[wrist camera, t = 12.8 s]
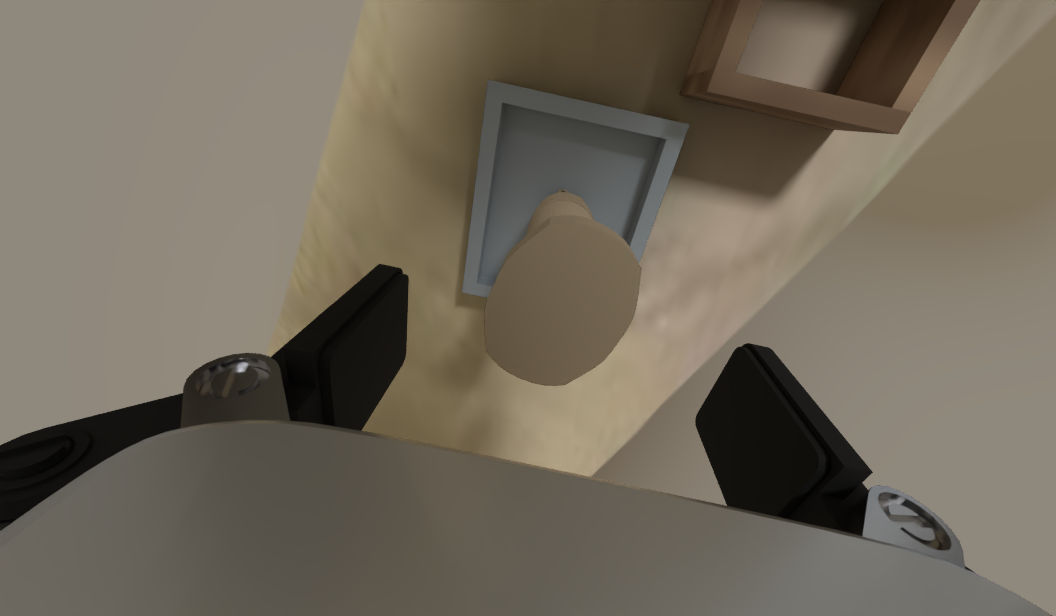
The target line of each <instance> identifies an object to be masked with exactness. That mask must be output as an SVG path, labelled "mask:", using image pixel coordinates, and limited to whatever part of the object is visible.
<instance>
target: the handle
mask: <svg viewBox="0 0 1056 616" xmlns="http://www.w3.org/2000/svg"><path fill="white" fill-rule="evenodd" d="M640 276H641V267H640V265H639V263H638V261H637V259H636V257H635V255H634V253H633V251H632V249H631V248H630V247H629V245H628V244H627V243H626V241H625V240H624V239H623V238H622V237H621V236H619V235H618V234H617V233H616V232H615V231H613V230H612V229H610V228H608V227H607V226H605V225H603V224H602V223H599V222H597V221H594V218H593V216H592V213H591V211H590V209H589V208H588V206H587V205H586V203H585V202H584V200H583V199H582V198H581V197H580V196H576V195H575V194H572V193H569V192H567V190H566V189H559V190H558V192H557V193H554V194H551V195H549V196H548V197H546V198H545V199H543V200H542V201H541V203H540V204H539V205H538V207H537V208H536V210H535V212H534V214H533V215H532V218H531V220H530V223H529V226H528V229H527V236H526V237H525V238H523V239H522V240H521V241H520V242H519V243H518V244H517V245H516V246H515V247H514V248H512V249H511V250H510V251H509V253H508V255H507V256H506V258H505V261H504V263H503V265H502V267H501V269H500V272H499V274H498V276H497V278H496V280H495V283H494V285H493V287H492V289H491V292H490V294H489V296H488V299H487V302H486V306H485V312H484V328H485V340H486V350H487V353H488V354H489V356H490V357H491V358H492V359H493V360H494V361H495V362H496V364H497V365H498V366H500V367H501V368H503V369H504V370H505V371H507V372H508V373H510V374H512V375H514V376H516V377H518V378H520V379H523V380H526V381H529V382H531V383H535V384H540V385H547V386H559V385H566V384H567V383H569V382H571V381H573V380H575V379H576V378H578V377H580V376H582V375H583V374H585V373H587V372H588V371H590V370H592V369H593V368H595V367H596V366H597V365H599V364H600V363H601V362H603V361H604V360H605V359H606V358H607V356H608V355H609V354H610V353H611V352H612V350H613V349H614V348H615V346H616V345H617V343H618V342H619V340H620V339H621V338H622V336H623V335H624V333H625V332H626V331H627V329H628V327H629V325H630V323H631V321H632V320H633V317H634V313H635V310H636V306H637V300H638V293H639V285H640Z"/></svg>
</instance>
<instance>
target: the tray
mask: <svg viewBox="0 0 1056 616" xmlns="http://www.w3.org/2000/svg"><path fill="white" fill-rule="evenodd" d="M689 125H690V124H685V123H681V122H676V121H672V120H667V119H663V118H658V117H654V116H649V115H645V114H640V113H636V112H632V111H627V110H623V109H618V108H614V107H609V106H605V105H600V104H596V103H591V102H587V101H582V100H578V99H573V98H569V97H564V96H560V95H555V94H551V93H546V92H542V91H537V90H533V89H528V88H524V87H519V86H515V85H510V84H506V83H501V82H497V81H492V80H488V83H487V91H486V99H485V107H484V116H483V124H482V132H481V140H480V149H479V157H478V165H477V173H476V182H475V190H474V198H473V206H472V215H471V223H470V231H469V239H468V248H467V256H466V264H465V272H464V281H463V289H462V293H467V294H471V295H476V296H481V297H485V298H488V296H489V294H490V292H491V289H492V287H493V285H494V283H495V280H496V278H497V276H498V274H499V272H500V269H501V267H502V265H503V263H504V261H505V258H506V256H507V255H508V253H509V251H510V250H511V249H512V248H514V247H515V246H516V245H517V244H518V243H519V242H520V241H521V240H522V239H523V238H525V237H526V236H527V229H528V226H529V223H530V220H531V218H532V215H533V214H534V212H535V210H536V208H537V207H538V205H539V204H540V203H541V201H542V200H543V199H545V198H546V197H548V196H549V195H551V194H554V193H557V192H558V190H559V189H566V190H567V192H569V193H572V194H575V195H576V196H580V197H581V198H582V199H583V200H584V202H585V203H586V205H587V206H588V208H589V209H590V211H591V213H592V216H593V218H594V221H597V222H599V223H602V224H603V225H605V226H607V227H608V228H610V229H612V230H613V231H615V232H616V233H617V234H618V235H619V236H621V237H622V238H623V239H624V240H625V241H626V243H627V244H628V245H629V247H630V248H631V249H632V251H633V253H634V255H635V257H636V259H637V261H638V263H639V262H640V260H641V257H642V254H643V251H644V249H645V246H646V243H647V240H648V238H649V235H650V232H651V229H652V227H653V224H654V221H655V218H656V216H657V213H658V210H659V207H660V205H661V202H662V199H663V196H664V194H665V191H666V188H667V185H668V183H669V180H670V177H671V174H672V172H673V169H674V166H675V164H676V161H677V158H678V155H679V153H680V150H681V147H682V144H683V142H684V139H685V136H686V133H687V131H688V128H689Z"/></svg>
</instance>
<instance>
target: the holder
mask: <svg viewBox="0 0 1056 616" xmlns="http://www.w3.org/2000/svg"><path fill="white" fill-rule="evenodd" d="M979 2H980V0H884V2H883V4H882V6H881V8H880V10H879V12H878V14H877V16H876V18H875V20H874V22H873V23H872V25H871V27H870V29H869V31H868V33H867V35H866V37H865V39H864V41H863V43H862V45H861V47H860V49H859V51H858V52H857V54H856V56H855V58H854V60H853V62H852V64H851V66H850V68H849V70H848V72H847V74H846V76H845V78H844V80H843V81H842V83H841V85H840V87H839V89H838V91H837V93H836V95H832V94H827V93H823V92H819V91H814V90H810V89H805V88H801V87H796V86H792V85H788V84H783V83H779V82H774V81H770V80H765V79H761V78H757V77H752V76H748V75H743V74H739V73H735V71H736V69H737V66H738V64H739V61H740V59H741V56H742V54H743V51H744V49H745V46H746V43H747V41H748V38H749V36H750V33H751V31H752V28H753V26H754V23H755V21H756V18H757V15H758V13H759V10H760V8H761V5H762V3H763V0H712V1H711V4H710V7H709V10H708V13H707V16H706V19H705V22H704V25H703V28H702V31H701V34H700V37H699V39H698V42H697V45H696V48H695V51H694V54H693V57H692V60H691V63H690V66H689V69H688V72H687V75H686V78H685V81H684V84H683V86H682V89H681V92H680V95H682V96H686V97H691V98H695V99H699V100H704V101H708V102H713V103H717V104H722V105H726V106H731V107H735V108H740V109H744V110H749V111H753V112H757V113H762V114H766V115H771V116H775V117H780V118H784V119H789V120H793V121H798V122H802V123H807V124H811V125H815V126H820V127H824V128H829V129H833V130H844V131H858V132H873V133H887V134H898V133H899V132H900V130H901V128H902V127H903V125H904V123H905V122H906V120H907V119H908V117H909V115H910V114H911V112H912V110H913V109H914V107H915V106H916V104H917V102H918V101H919V99H920V97H921V96H922V94H923V93H924V91H925V89H926V88H927V86H928V84H929V83H930V81H931V80H932V78H933V76H934V75H935V73H936V71H937V70H938V68H939V67H940V65H941V63H942V62H943V60H944V58H945V57H946V55H947V54H948V52H949V50H950V49H951V47H952V45H953V44H954V42H955V41H956V39H957V37H958V36H959V34H960V32H961V31H962V29H963V28H964V26H965V24H966V23H967V21H968V19H969V18H970V16H971V15H972V13H973V11H974V10H975V8H976V6H977V5H978V3H979Z"/></svg>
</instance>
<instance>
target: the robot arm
mask: <svg viewBox="0 0 1056 616" xmlns="http://www.w3.org/2000/svg"><path fill="white" fill-rule="evenodd" d="M408 283H409V279H408V276H407V275H405V274H403V272H402V269H401V268H397V267H392V266H387V265H383V264H379V265H377V266H376V267H375V268H374V269H373V270H372V271H370V272H369V273H368V274H367V275H366V276H365V277H364V278H362V279H361V280H360V281H359V282H358V283H357V284H355V285H354V286H353V287H352V288H351V289H350V290H349V291H347V292H346V293H345V294H344V295H343V296H342V297H340V298H339V299H338V300H337V301H336V302H335V303H334V304H332V305H331V306H329V307H328V308H327V309H326V310H325V311H324V312H323V313H321V314H320V315H319V316H318V317H317V318H316V319H314V320H313V321H312V322H311V323H310V324H309V325H307V326H306V327H305V328H304V329H303V330H302V331H301V332H299V333H298V334H297V335H296V336H295V337H294V338H292V339H291V340H290V341H289V342H288V343H287V344H285V345H284V346H283V347H282V348H281V349H280V350H279V351H277V352H276V353H275V354H274V355H273V356H272V357H269V356H266V355H262V354H256V353H242V354H232V355H229V356H225V357H221V358H218V359H215V360H213V361H210V362H208V363H206V364H204V365H203V366H201V367H199V368H198V369H196V370H195V371H194V372H193V373H192V374H191V375H190V376H189V377H188V378H187V379H186V382H185V385H184V389H183V393H182V394H178V395H174V396H170V397H166V398H163V399H158V400H154V401H150V402H146V403H143V404H138V405H135V406H130V407H126V408H122V409H119V410H115V411H111V412H107V413H103V414H99V415H95V416H91V417H87V418H83V419H79V420H75V421H71V422H67V423H64V424H59V425H55V426H51V427H47V428H44V429H41V430H38V431H34V432H31V433H28V434H25V435H22V436H20V437H18V438H16V439H13V440H11V441H9V442H7V443H4V444H2V445H0V616H1052V615H1050V614H1049V613H1047V612H1046V611H1044V610H1042V609H1041V608H1039V607H1038V606H1036V605H1034V604H1033V603H1031V602H1029V601H1028V600H1026V599H1024V598H1022V597H1021V596H1019V595H1017V594H1016V593H1014V592H1011V591H1010V590H1008V589H1006V588H1004V587H1002V586H1000V585H998V584H996V583H994V582H992V581H990V580H988V579H986V578H984V577H982V576H980V575H978V574H976V573H975V572H973V571H972V570H970V569H969V568H967V567H966V566H965V564H964V556H963V550H962V547H961V544H960V542H959V540H958V538H957V537H956V536H955V534H954V533H953V532H952V530H951V529H950V528H949V527H948V526H947V525H946V524H945V523H944V522H943V521H942V519H940V518H939V517H938V516H937V515H936V514H935V513H933V512H932V511H931V510H930V509H929V508H927V507H926V506H925V505H923V504H922V503H920V502H918V501H917V500H915V499H914V498H912V497H911V496H909V495H907V494H905V493H903V492H901V491H899V490H896V489H893V488H891V487H888V486H880V485H877V486H874V487H871V488H870V489H869V490H867V488H866V487H865V486H864V485H863V483H862V482H863V481H864V480H865V479H866V478H867V477H868V476H869V475H870V474H871V473H873V472H872V471H871V470H870V469H869V467H868V466H867V465H866V464H865V462H864V461H863V460H862V459H861V458H860V456H859V455H858V454H857V453H856V452H855V450H854V449H853V448H852V446H851V445H850V444H849V443H848V442H847V441H846V439H845V438H844V437H843V436H842V434H841V433H840V432H839V431H838V429H837V428H836V427H835V426H834V425H833V423H832V422H831V421H830V420H829V419H828V417H827V416H826V415H825V414H824V412H823V411H822V410H821V409H820V408H819V406H818V405H817V404H816V403H815V401H814V400H813V399H812V398H811V397H810V395H809V394H808V393H807V392H806V391H805V389H804V388H803V387H802V386H801V384H800V383H799V382H798V381H797V380H796V378H795V377H794V376H793V375H792V373H790V371H789V370H788V369H787V367H786V366H785V365H784V364H783V363H782V361H781V360H780V359H779V358H778V356H777V355H776V354H775V353H774V352H773V350H771V349H770V348H768V347H763V346H759V345H754V344H749V343H747V344H744V345H743V346H742V347H738V348H736V349H735V351H734V352H733V354H732V356H731V357H730V359H729V361H728V362H727V364H726V366H725V367H724V369H723V371H722V373H721V374H720V376H719V378H718V379H717V381H716V383H715V384H714V386H713V388H712V390H711V391H710V393H709V395H708V397H707V398H706V400H705V402H704V403H703V405H702V407H701V408H700V410H699V412H698V414H697V416H696V428H697V430H698V433H699V435H700V438H701V441H702V442H703V446H704V448H705V451H706V453H707V456H708V458H709V461H710V463H711V466H712V468H713V471H714V474H715V476H716V478H717V481H718V484H719V486H720V488H721V491H722V494H723V496H724V499H725V501H726V504H727V506H724V505H720V504H715V503H711V502H706V501H701V500H697V499H692V498H687V497H683V496H678V495H673V494H669V493H664V492H659V491H654V490H650V489H645V488H640V487H636V486H631V485H626V484H621V483H616V482H611V481H607V480H602V479H597V478H593V477H588V476H583V475H578V474H573V473H569V472H564V471H559V470H554V469H549V468H545V467H540V466H535V465H530V464H525V463H520V462H515V461H510V460H506V459H501V458H496V457H491V456H486V455H481V454H476V453H471V452H466V451H461V450H456V449H451V448H447V447H442V446H437V445H432V444H427V443H422V442H417V441H412V440H407V439H402V438H397V437H392V436H386V435H381V434H376V433H371V432H365V431H361V430H362V429H363V427H364V425H365V424H366V422H367V421H368V419H369V417H370V416H371V414H372V413H373V411H374V409H375V408H376V406H377V405H378V403H379V401H380V400H381V398H382V397H383V395H384V393H385V392H386V390H387V389H388V387H389V385H390V384H391V382H392V381H393V379H394V378H395V376H396V374H397V373H398V371H399V370H400V368H401V366H402V365H403V363H404V360H405V356H406V342H407V313H408Z"/></svg>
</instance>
